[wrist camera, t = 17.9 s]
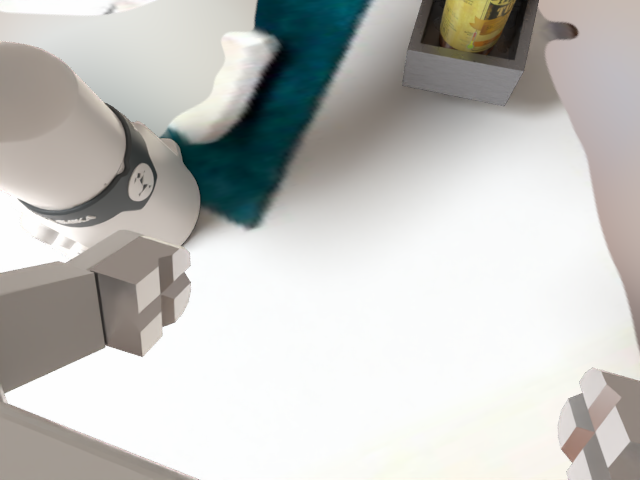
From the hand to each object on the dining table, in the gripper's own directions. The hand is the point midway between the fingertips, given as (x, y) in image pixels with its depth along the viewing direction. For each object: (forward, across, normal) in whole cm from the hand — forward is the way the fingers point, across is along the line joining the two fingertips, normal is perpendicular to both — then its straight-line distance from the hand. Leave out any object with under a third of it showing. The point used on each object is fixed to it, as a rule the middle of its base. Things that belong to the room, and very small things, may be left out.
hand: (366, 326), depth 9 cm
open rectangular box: (+47, -2, -3) cm, 47 cm away
